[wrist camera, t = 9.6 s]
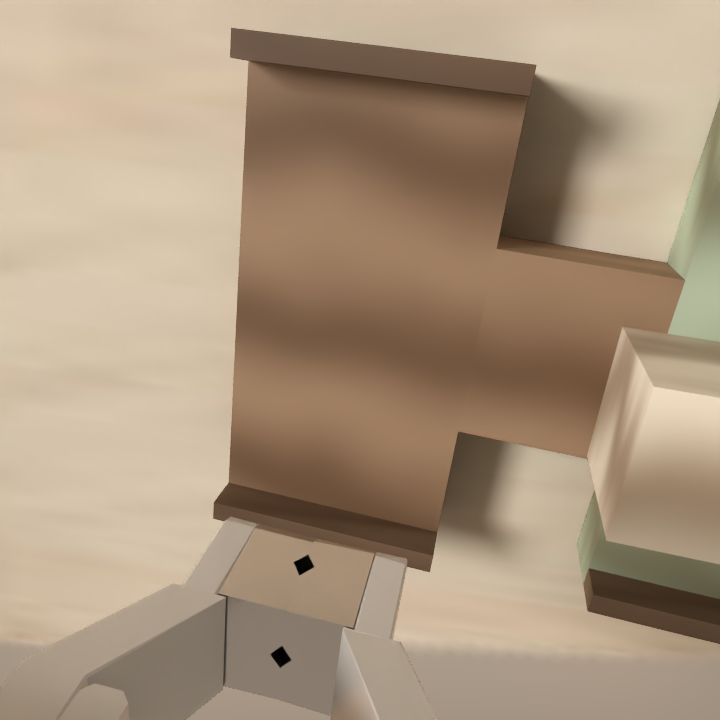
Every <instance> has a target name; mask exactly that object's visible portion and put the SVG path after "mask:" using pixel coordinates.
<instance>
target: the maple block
mask: <svg viewBox="0 0 720 720" xmlns="http://www.w3.org/2000/svg"><path fill="white" fill-rule="evenodd" d="M587 457H588V462H589V466H590V471H591V475H592V480H593V484H594V488H595V493H596V497H597V502H598V506H599V510H600V515H601V519H602V524H603V528H604V532H605V537H606V541H610V542H615V543H619V544H624V545H629V546H634V547H639V548H643V549H648V550H653V551H658V552H662V553H667V554H672V555H677V556H682V557H686V558H691V559H696V560H701V561H706V562H710V563H715V564H720V342H718V341H711V340H705V339H699V338H692V337H686V336H679V335H673V334H666V333H660V332H654V331H647V330H641V329H634V328H628V327H622V330H621V334H620V337H619V341H618V344H617V348H616V352H615V355H614V359H613V363H612V366H611V370H610V374H609V377H608V381H607V384H606V388H605V392H604V395H603V399H602V403H601V406H600V410H599V414H598V417H597V421H596V425H595V428H594V432H593V435H592V439H591V443H590V446H589V450H588V454H587Z"/></svg>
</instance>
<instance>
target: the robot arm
mask: <svg viewBox="0 0 720 720" xmlns="http://www.w3.org/2000/svg"><path fill="white" fill-rule="evenodd" d="M406 568H407V559H406V558H402V557H397V556H393V555H388V554H384V553H379V552H377V553H376V552H372V551H368V550H364V549H359V548H355V547H351V546H346V545H342V544H338V543H333V542H329V541H325V540H320V539H316V538H312V537H308V536H304V535H301V534H297V533H293V532H289V531H285V530H282V529H278V528H274V527H270V526H267V525H263V524H256V523H253V522H249V521H245V520H241V519H238V518H234V517H229V518H228V519H227V520H225V521H224V522H223V523H222V525H221V526H220V528H219V529H218V531H217V533H216V534H215V536H214V537H213V539H212V540H211V542H210V543H209V545H208V546H207V548H206V550H205V551H204V553H203V554H202V556H201V557H200V559H199V560H198V562H197V563H196V565H195V567H194V568H193V570H192V571H191V573H190V574H189V576H188V577H187V579H186V580H185V582H184V584H183V585H182V586H181V585H177V584H171V585H169V586H167V587H166V588H164V589H162V590H160V591H158V592H156V593H154V594H152V595H150V596H148V597H146V598H144V599H142V600H140V601H138V602H136V603H134V604H132V605H130V606H128V607H126V608H124V609H122V610H120V611H118V612H116V613H114V614H112V615H110V616H108V617H106V618H104V619H102V620H100V621H98V622H96V623H94V624H92V625H90V626H88V627H86V628H84V629H82V630H80V631H78V632H76V633H74V634H72V635H70V636H68V637H66V638H64V639H62V640H60V641H58V642H56V643H54V644H52V645H50V646H48V647H46V648H44V649H42V650H40V651H38V652H36V653H34V654H32V655H30V656H29V657H27V658H25V659H23V660H22V661H21V662H20V664H19V665H18V666H17V667H16V668H15V670H14V671H13V672H12V673H11V674H10V676H9V677H8V678H7V679H6V680H5V681H4V683H3V684H2V685H1V686H0V720H186V719H187V718H189V717H190V716H191V715H192V714H193V713H195V712H196V711H197V710H198V709H200V708H201V707H202V706H203V705H205V704H206V703H207V702H208V701H209V700H211V699H212V698H213V697H215V696H216V695H217V694H218V693H220V692H221V691H222V690H223V686H225V687H229V688H234V689H238V690H242V691H246V692H250V693H254V694H258V695H262V696H266V697H270V698H274V699H278V700H281V701H284V702H287V703H291V704H294V705H297V706H300V707H303V708H307V709H310V710H313V711H317V712H320V713H323V714H326V715H329V716H331V720H438V718H437V716H436V714H435V712H434V710H433V708H432V706H431V704H430V702H429V700H428V698H427V695H426V693H425V691H424V689H423V687H422V685H421V683H420V681H419V679H418V677H417V675H416V672H415V670H414V668H413V666H412V664H411V662H410V660H409V658H408V656H407V654H406V652H405V649H404V647H403V645H402V643H401V642H398V641H394V640H393V637H394V631H395V626H396V621H397V616H398V610H399V605H400V600H401V595H402V589H403V584H404V579H405V573H406Z"/></svg>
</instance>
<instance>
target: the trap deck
mask: <svg viewBox="0 0 720 720" xmlns="http://www.w3.org/2000/svg"><path fill="white" fill-rule="evenodd" d="M230 57H231V58H236V59H242V60H247V61H249V64H248V86H247V107H246V128H245V149H244V171H243V192H242V213H241V234H240V256H239V277H238V298H237V319H236V341H235V362H234V383H233V404H232V426H231V447H230V468H229V483H228V484H227V486H226V487H225V488H224V490H223V491H222V492H221V494H220V495H219V496H218V498H217V499H216V500H215V502H214V514H213V519H217V520H221V521H225V520H227V519H228V518H229V517H234V518H238V519H241V520H245V521H249V522H253V523H256V524H263V525H267V526H270V527H274V528H278V529H282V530H285V531H289V532H293V533H297V534H301V535H304V536H308V537H312V538H316V539H320V540H325V541H329V542H333V543H338V544H342V545H346V546H351V547H355V548H359V549H364V550H368V551H372V552H376V553H377V552H379V553H384V554H388V555H393V556H397V557H402V558H406V559H407V567H411V568H415V569H419V570H423V571H427V572H430V568H431V564H432V559H433V554H434V548H435V542H436V536H437V530H438V525H439V521H440V516H441V511H442V506H443V502H444V497H445V492H446V487H447V483H448V478H449V473H450V468H451V463H452V459H453V454H454V449H455V444H456V440H457V435H458V432H463V433H468V434H472V435H477V436H482V437H487V438H491V439H496V440H501V441H506V442H510V443H515V444H520V445H524V446H529V447H534V448H539V449H543V450H548V451H553V452H557V453H562V454H567V455H572V456H576V457H581V458H586V459H588V457H587V454H588V450H589V446H590V443H591V439H592V435H593V432H594V428H595V425H596V421H597V417H598V414H599V410H600V406H601V403H602V399H603V395H604V392H605V388H606V384H607V381H608V377H609V374H610V370H611V366H612V363H613V359H614V355H615V352H616V348H617V344H618V341H619V337H620V334H621V330H622V327H628V328H634V329H641V330H647V331H654V332H660V333H666V334H673V335H679V336H686V337H692V338H699V339H705V340H711V341H718V342H720V101H719V104H718V107H717V110H716V113H715V116H714V119H713V122H712V126H711V129H710V132H709V135H708V138H707V141H706V144H705V147H704V150H703V154H702V157H701V160H700V163H699V166H698V169H697V172H696V175H695V179H694V182H693V185H692V188H691V191H690V194H689V197H688V200H687V203H686V207H685V210H684V213H683V216H682V219H681V222H680V225H679V228H678V232H677V235H676V238H675V241H674V244H673V247H672V250H671V253H670V256H669V260H668V263H665V262H659V261H653V260H647V259H641V258H634V257H628V256H622V255H616V254H610V253H604V252H598V251H592V250H585V249H579V248H573V247H567V246H561V245H555V244H549V243H542V242H536V241H530V240H524V239H518V238H512V237H506V236H500V230H501V225H502V220H503V215H504V211H505V206H506V201H507V196H508V192H509V187H510V182H511V177H512V173H513V168H514V163H515V158H516V153H517V149H518V144H519V139H520V134H521V130H522V125H523V120H524V115H525V111H526V106H527V101H528V97H529V96H530V93H531V88H532V84H533V79H534V74H535V69H536V65H533V64H524V63H516V62H508V61H500V60H491V59H483V58H475V57H467V56H459V55H450V54H442V53H434V52H426V51H417V50H409V49H401V48H393V47H384V46H376V45H368V44H360V43H351V42H343V41H335V40H327V39H318V38H310V37H302V36H294V35H286V34H277V33H269V32H261V31H253V30H244V29H236V28H231V49H230ZM577 546H578V553H579V559H580V565H581V572H582V578H583V584H584V591H585V597H586V604H587V610H588V611H589V612H593V613H597V614H601V615H605V616H609V617H613V618H617V619H621V620H625V621H629V622H633V623H637V624H641V625H645V626H649V627H653V628H657V629H661V630H665V631H669V632H673V633H678V634H682V635H686V636H690V637H694V638H698V639H702V640H706V641H710V642H714V643H718V644H720V564H715V563H710V562H706V561H701V560H696V559H691V558H686V557H682V556H677V555H672V554H667V553H662V552H658V551H653V550H648V549H643V548H639V547H634V546H629V545H624V544H619V543H615V542H610V541H606V537H605V532H604V528H603V524H602V519H601V515H600V510H599V506H598V502H597V497H596V493H595V490H594V493H593V496H592V500H591V503H590V506H589V509H588V512H587V515H586V518H585V521H584V524H583V528H582V531H581V534H580V537H579V540H578V543H577Z"/></svg>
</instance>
